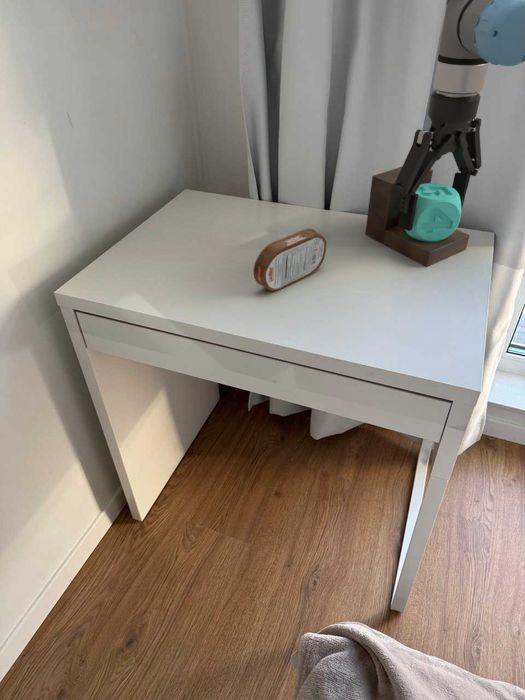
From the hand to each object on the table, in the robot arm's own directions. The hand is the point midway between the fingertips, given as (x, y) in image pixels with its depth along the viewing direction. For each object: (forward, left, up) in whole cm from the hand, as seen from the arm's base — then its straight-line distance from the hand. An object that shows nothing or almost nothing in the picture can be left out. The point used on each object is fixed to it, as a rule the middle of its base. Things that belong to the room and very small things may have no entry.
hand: (430, 218), depth 92 cm
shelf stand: (+3, 0, -6) cm, 7 cm away
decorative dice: (0, 0, -3) cm, 3 cm away
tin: (+6, +28, -6) cm, 29 cm away
